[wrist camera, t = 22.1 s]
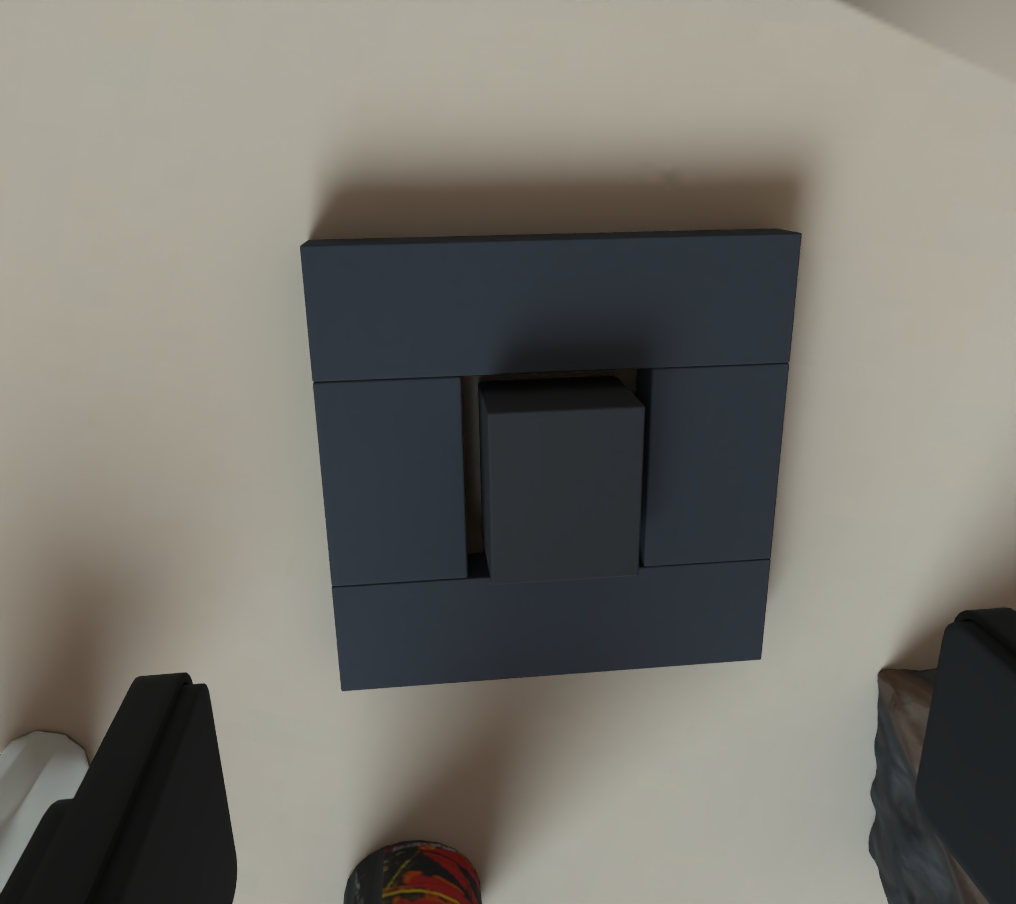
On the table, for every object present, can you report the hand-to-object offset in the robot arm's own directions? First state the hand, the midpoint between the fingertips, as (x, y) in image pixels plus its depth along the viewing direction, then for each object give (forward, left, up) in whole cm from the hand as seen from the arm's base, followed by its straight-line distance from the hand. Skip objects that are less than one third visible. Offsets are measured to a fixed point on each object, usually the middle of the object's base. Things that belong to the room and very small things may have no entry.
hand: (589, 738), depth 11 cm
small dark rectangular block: (+3, +3, -20) cm, 21 cm away
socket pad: (+3, +3, -20) cm, 21 cm away
